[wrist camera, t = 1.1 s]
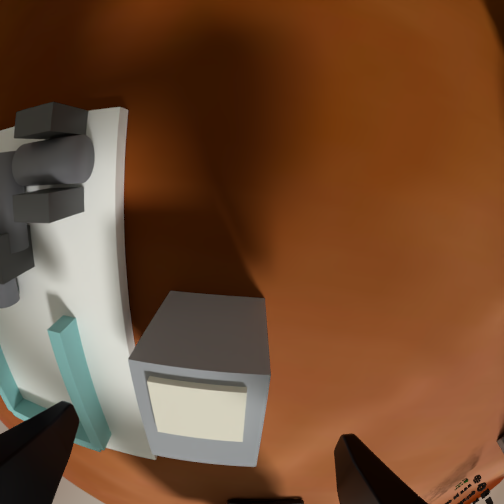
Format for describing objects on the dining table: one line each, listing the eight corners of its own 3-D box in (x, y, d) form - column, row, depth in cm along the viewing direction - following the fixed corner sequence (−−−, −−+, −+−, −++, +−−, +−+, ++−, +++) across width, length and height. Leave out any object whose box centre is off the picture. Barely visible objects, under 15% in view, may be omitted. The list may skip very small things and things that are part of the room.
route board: (158, 451, 15) (148, 487, 12) (11, 400, 15) (-7, 422, 12) (128, 110, 10) (88, 94, 7) (-43, 148, 10) (-78, 152, 7)
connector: (255, 385, 14) (256, 471, 8) (177, 378, 13) (151, 459, 8) (264, 297, 12) (271, 380, 7) (170, 290, 12) (124, 364, 7)
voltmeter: (539, 380, 15) (585, 432, 6) (562, 379, 16) (598, 417, 7) (402, 517, 22) (417, 566, 13) (449, 503, 23) (465, 543, 14)
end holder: (113, 437, 14) (105, 453, 13) (20, 402, 14) (11, 413, 13) (75, 317, 12) (59, 333, 10) (-22, 292, 11) (-37, 301, 10)
